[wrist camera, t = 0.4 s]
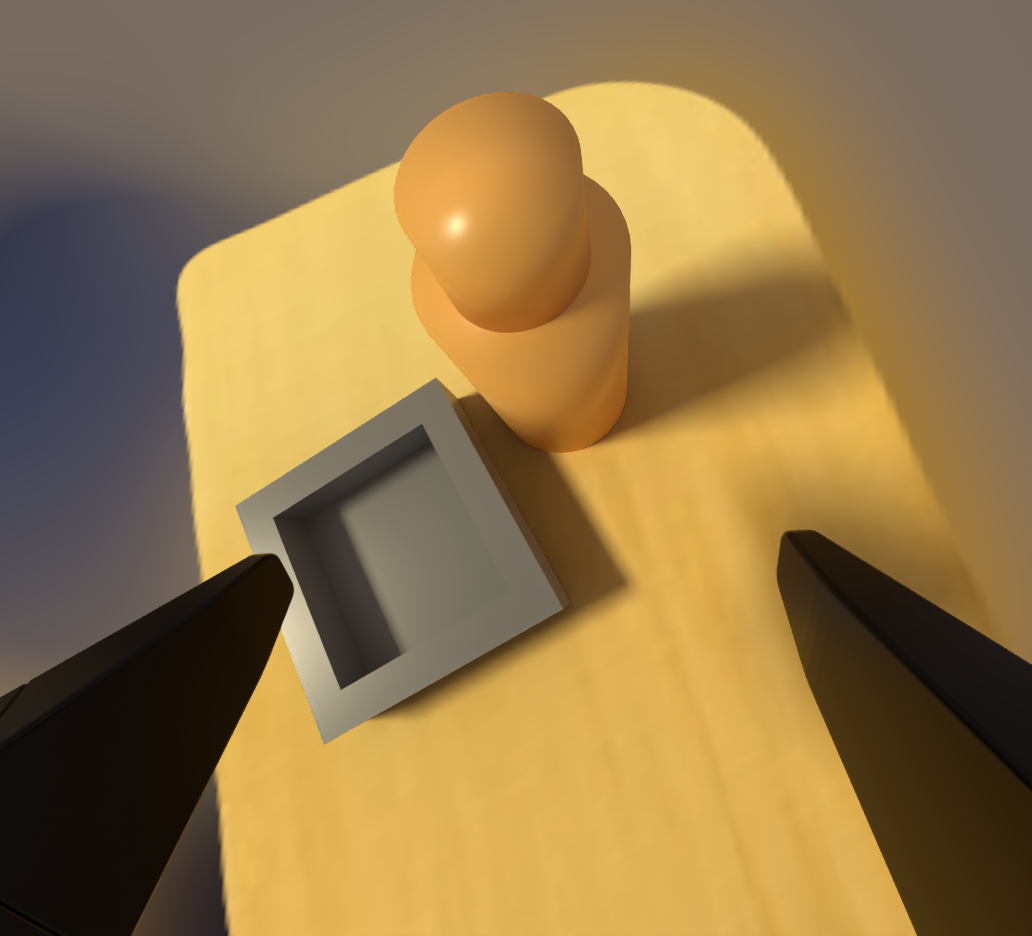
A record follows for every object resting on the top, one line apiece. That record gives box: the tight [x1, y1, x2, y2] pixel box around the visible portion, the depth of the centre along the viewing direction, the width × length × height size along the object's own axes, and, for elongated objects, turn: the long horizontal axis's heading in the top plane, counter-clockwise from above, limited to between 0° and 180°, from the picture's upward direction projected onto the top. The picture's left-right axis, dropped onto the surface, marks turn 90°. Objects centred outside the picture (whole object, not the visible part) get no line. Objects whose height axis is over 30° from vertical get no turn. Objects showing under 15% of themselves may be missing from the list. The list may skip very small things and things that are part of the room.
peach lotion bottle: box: [394, 92, 631, 453], centre depth 16 cm, size 6×6×13 cm
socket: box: [235, 378, 571, 744], centre depth 21 cm, size 11×11×3 cm
